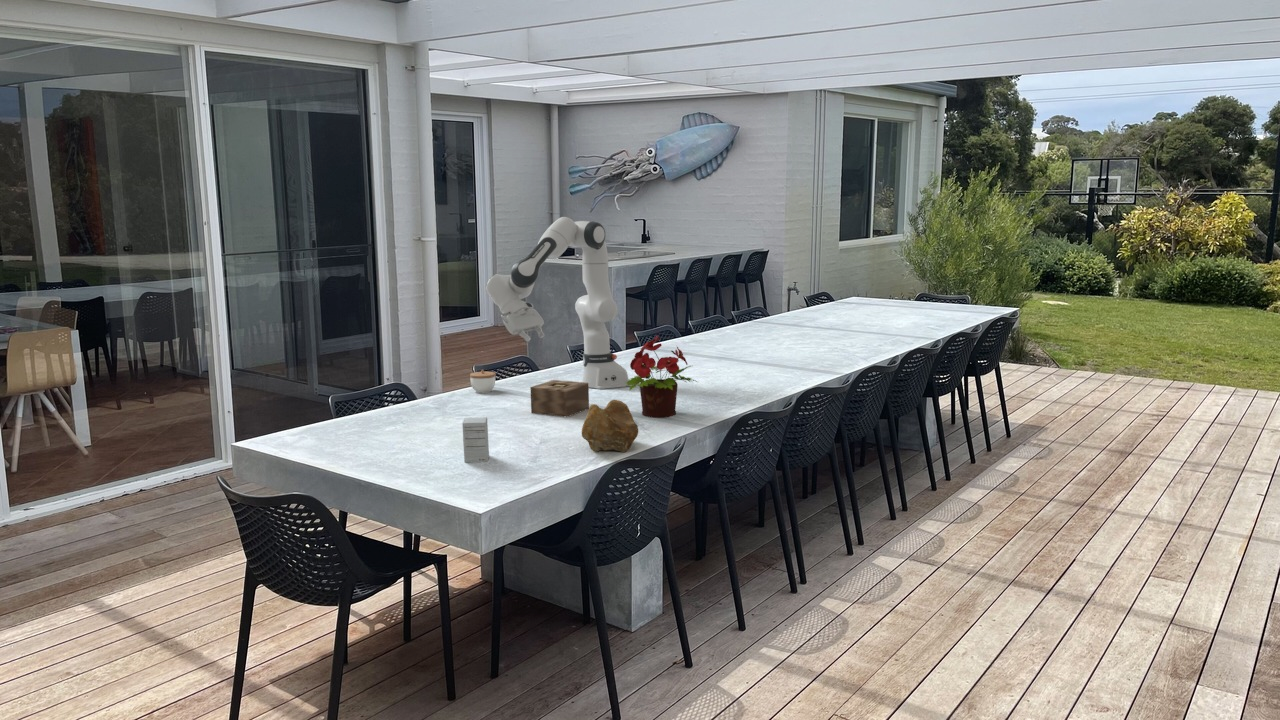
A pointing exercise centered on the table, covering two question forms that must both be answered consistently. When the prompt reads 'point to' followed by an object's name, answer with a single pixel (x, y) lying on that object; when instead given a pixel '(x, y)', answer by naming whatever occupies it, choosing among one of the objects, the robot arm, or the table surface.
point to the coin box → (559, 398)
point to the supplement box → (475, 439)
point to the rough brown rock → (610, 427)
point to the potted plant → (656, 381)
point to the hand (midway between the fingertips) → (536, 338)
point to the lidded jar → (482, 381)
